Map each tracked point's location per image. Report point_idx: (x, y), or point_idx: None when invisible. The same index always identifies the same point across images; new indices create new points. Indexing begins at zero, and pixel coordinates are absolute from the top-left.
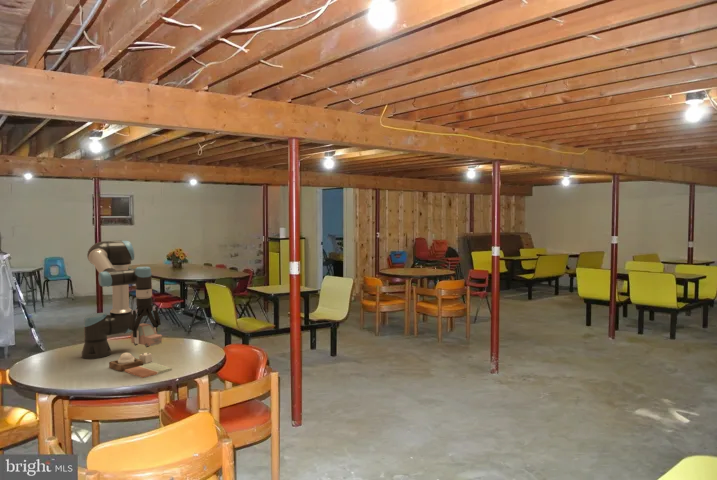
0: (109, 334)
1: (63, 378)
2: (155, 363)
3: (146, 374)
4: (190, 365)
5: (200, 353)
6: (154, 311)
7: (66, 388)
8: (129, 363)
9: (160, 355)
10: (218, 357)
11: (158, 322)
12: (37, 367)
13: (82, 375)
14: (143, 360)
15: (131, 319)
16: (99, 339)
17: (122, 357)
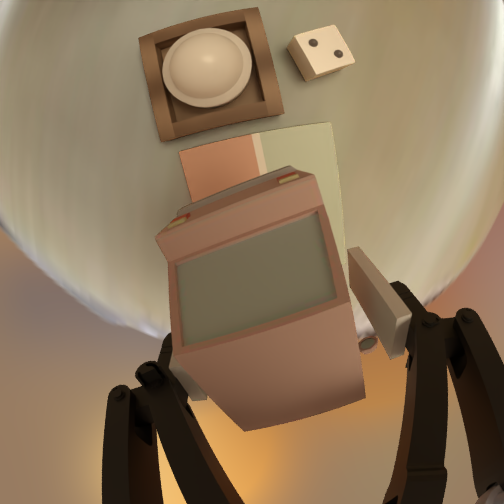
0: None
1: (11, 120)
2: (331, 144)
3: None
4: (411, 248)
5: (491, 131)
6: (487, 482)
7: (18, 237)
8: (207, 123)
9: (396, 20)
10: (490, 223)
11: (452, 371)
12: None
13: (49, 111)
14: (302, 66)
15: (117, 496)
16: None
17: (177, 83)
